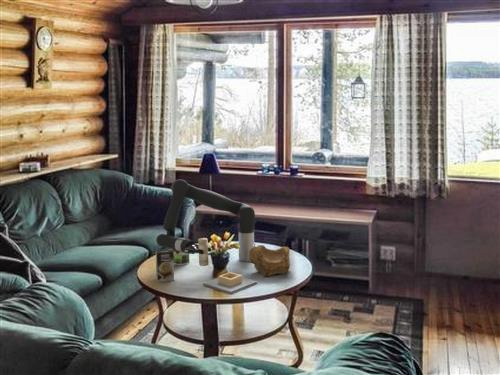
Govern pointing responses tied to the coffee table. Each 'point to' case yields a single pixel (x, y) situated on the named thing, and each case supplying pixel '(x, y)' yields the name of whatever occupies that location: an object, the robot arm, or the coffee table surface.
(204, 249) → the wooden peg
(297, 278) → the coffee table surface
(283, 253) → the rough brown rock
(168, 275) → the coffee box
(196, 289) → the coffee table surface
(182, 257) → the coffee can
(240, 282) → the collar board
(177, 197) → the robot arm
